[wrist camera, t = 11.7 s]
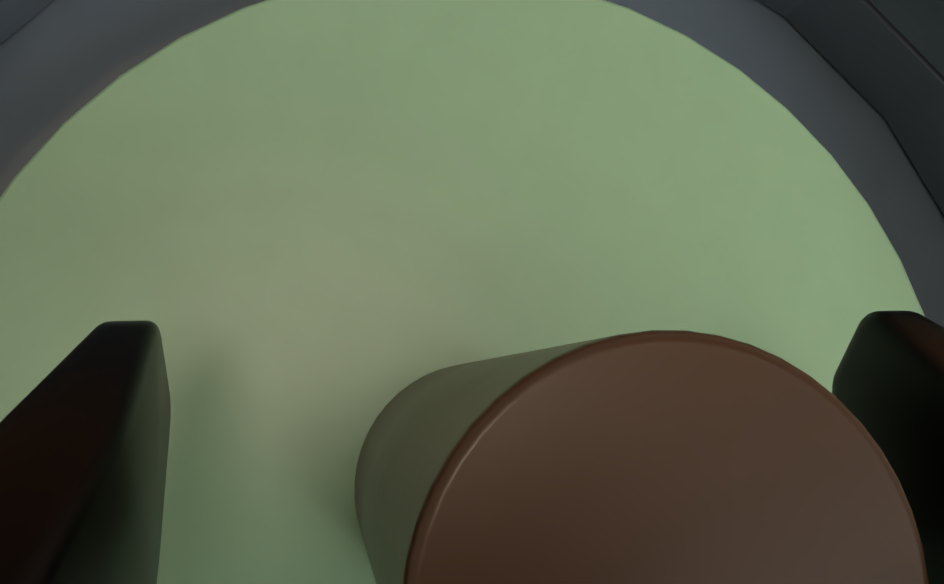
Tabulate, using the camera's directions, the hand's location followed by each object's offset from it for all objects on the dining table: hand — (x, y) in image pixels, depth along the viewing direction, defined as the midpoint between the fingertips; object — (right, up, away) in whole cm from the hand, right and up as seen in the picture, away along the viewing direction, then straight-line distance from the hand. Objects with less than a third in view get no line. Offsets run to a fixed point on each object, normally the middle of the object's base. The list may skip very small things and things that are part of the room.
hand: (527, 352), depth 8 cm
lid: (-1, -2, +3) cm, 4 cm away
